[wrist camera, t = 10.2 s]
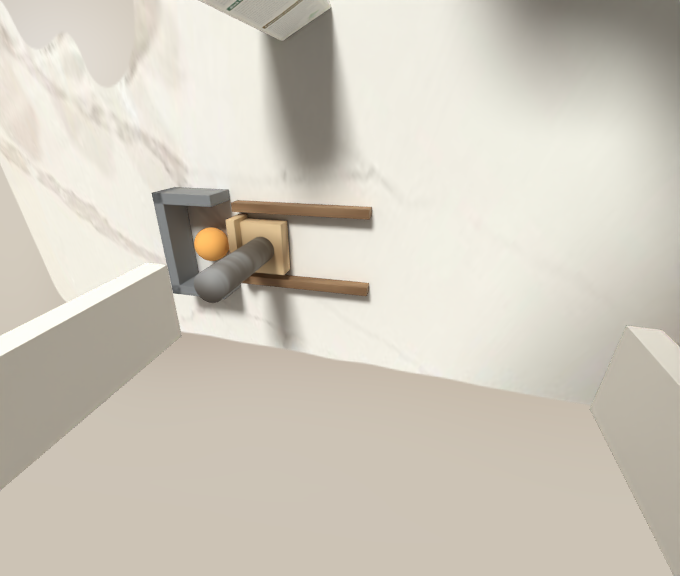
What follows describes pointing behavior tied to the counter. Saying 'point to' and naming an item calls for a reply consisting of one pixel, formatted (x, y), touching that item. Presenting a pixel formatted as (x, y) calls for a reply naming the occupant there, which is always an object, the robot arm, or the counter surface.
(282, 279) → the rails
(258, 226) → the carriage
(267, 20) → the syrup box
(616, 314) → the counter surface
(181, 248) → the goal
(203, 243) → the ball
